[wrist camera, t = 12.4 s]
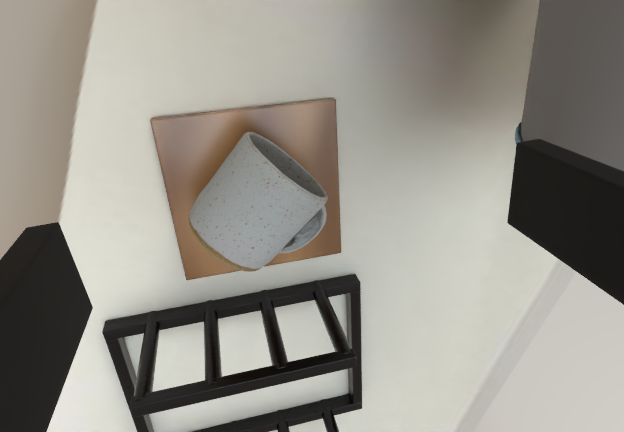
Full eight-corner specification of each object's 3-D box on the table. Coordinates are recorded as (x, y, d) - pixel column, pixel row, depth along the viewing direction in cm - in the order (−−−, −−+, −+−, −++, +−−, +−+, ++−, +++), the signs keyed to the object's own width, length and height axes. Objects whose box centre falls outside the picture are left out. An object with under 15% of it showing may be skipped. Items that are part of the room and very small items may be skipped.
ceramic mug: (181, 202, 35) (179, 250, 28) (241, 119, 33) (254, 149, 26) (285, 261, 39) (304, 314, 33) (342, 191, 38) (374, 231, 31)
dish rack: (355, 272, 42) (399, 346, 33) (357, 398, 50) (394, 487, 41) (105, 319, 38) (75, 418, 29) (149, 449, 46) (137, 560, 36)
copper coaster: (333, 98, 35) (335, 99, 34) (339, 249, 41) (341, 252, 40) (150, 118, 32) (150, 120, 32) (186, 276, 38) (186, 280, 38)
